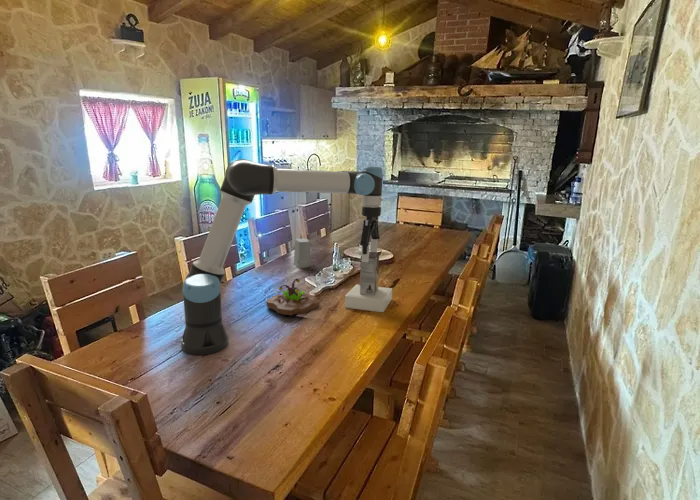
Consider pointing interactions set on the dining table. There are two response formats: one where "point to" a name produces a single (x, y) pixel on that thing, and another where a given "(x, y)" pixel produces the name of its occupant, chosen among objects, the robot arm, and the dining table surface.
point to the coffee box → (369, 274)
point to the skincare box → (302, 253)
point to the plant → (292, 301)
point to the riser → (368, 299)
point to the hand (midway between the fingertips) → (369, 258)
